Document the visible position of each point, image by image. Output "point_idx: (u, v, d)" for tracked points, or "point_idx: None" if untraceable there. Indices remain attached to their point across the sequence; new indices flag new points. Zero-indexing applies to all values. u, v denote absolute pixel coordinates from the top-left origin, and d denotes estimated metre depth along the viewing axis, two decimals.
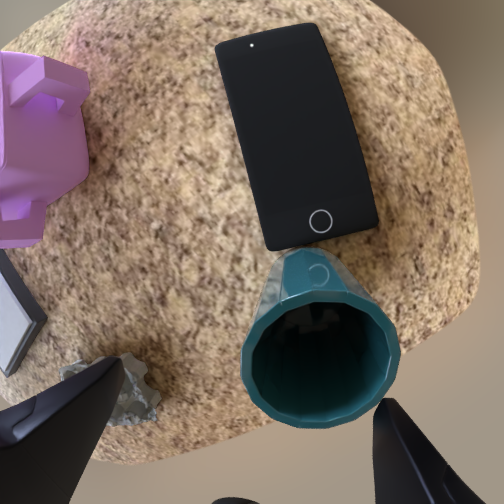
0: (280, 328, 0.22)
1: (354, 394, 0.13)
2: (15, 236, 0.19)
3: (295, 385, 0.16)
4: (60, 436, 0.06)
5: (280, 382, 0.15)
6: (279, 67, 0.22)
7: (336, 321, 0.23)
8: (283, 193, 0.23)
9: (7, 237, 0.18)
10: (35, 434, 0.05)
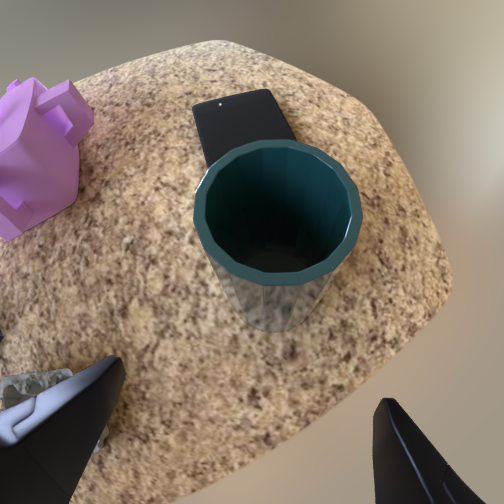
0: None
1: None
2: (2, 211, 0.20)
3: None
4: (60, 436, 0.06)
5: None
6: (240, 116, 0.30)
7: None
8: None
9: None
10: (35, 434, 0.05)
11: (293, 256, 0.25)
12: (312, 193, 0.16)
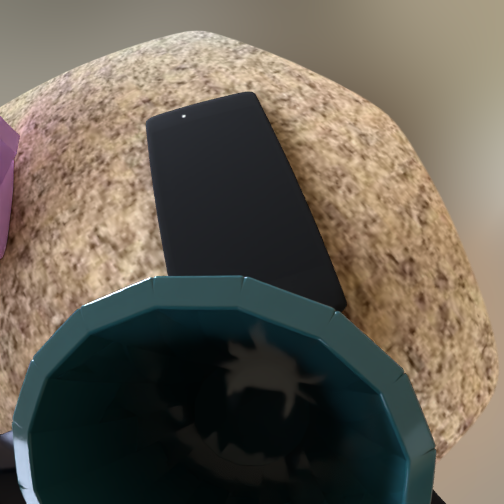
0: (202, 463, 0.11)
1: None
2: None
3: None
4: None
5: None
6: (210, 134, 0.21)
7: (297, 453, 0.12)
8: (208, 275, 0.17)
9: None
10: None
11: (283, 368, 0.15)
12: (312, 366, 0.06)
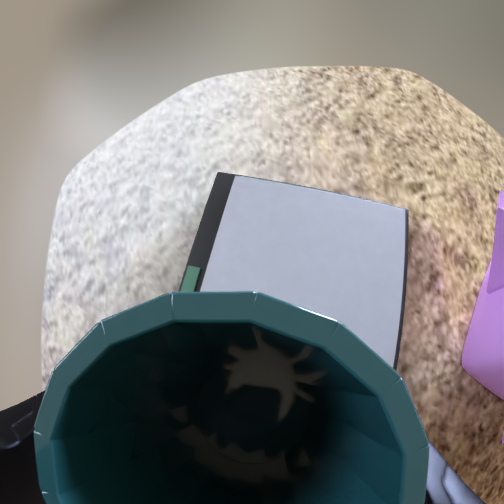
0: (205, 462, 0.12)
1: None
2: None
3: None
4: None
5: None
6: None
7: (297, 451, 0.13)
8: None
9: None
10: None
11: (282, 368, 0.16)
12: (314, 369, 0.07)
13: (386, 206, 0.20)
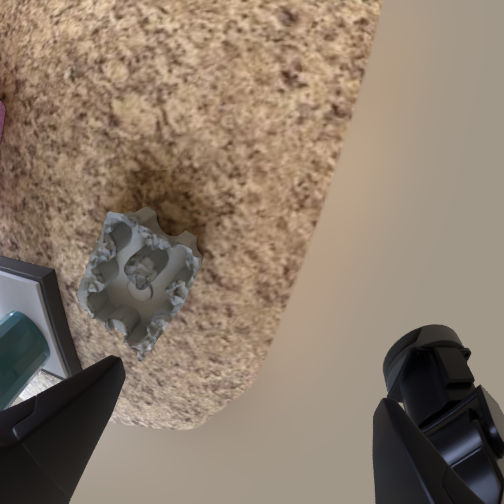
0: None
1: None
2: None
3: None
4: (60, 436, 0.06)
5: None
6: None
7: None
8: None
9: None
10: (35, 434, 0.05)
11: None
12: None
13: None
